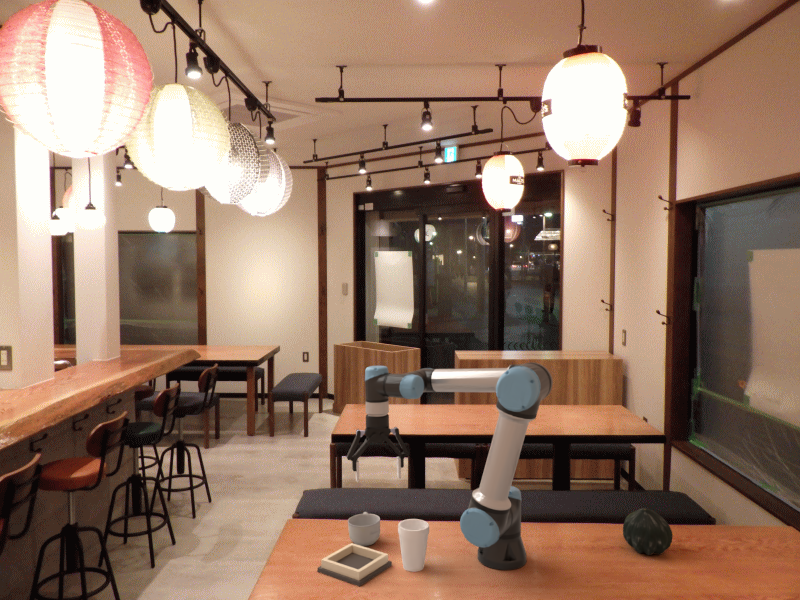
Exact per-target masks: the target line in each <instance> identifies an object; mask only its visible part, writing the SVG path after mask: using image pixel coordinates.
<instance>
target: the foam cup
mask: <svg viewBox="0 0 800 600" xmlns="http://www.w3.org/2000/svg"><path fill="white" fill-rule="evenodd" d="M429 533H430V524H429V523H428V521H426V520H423V519H418V518H407V519H404V520H400V521H399V522H398V524H397V534H398V538H399V546H400V553H401V562H402V567H403V569H404V570H405V571H407V572H416V573H417V572H420V571H422V570H424V568H425V562H426V555H427V545H428V538H429Z"/></svg>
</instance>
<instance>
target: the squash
mask: <svg viewBox="0 0 800 600" xmlns="http://www.w3.org/2000/svg"><path fill="white" fill-rule="evenodd" d="M622 535H623V538H624V541H625V542H626V543H627V544H628V545H629V547H631V548H633V549H634V550H635V552H636V553H638V554H643V553H644V554H645V555H647V556H651V555H653V554H655V555H662V554H663V553H665V552H666V551H667V550H668V549H669V547H671V544H672V541H673V536H674V535H673V530H672V528H671V526H670V525H669V523H668V522H667V521H666V519H664V517H663V516H662V515H660V514H659V513H657V512H656V511H654V510H652V509H649V508H646V507H643V508H639V509H637V510H634V511H632V512H630V513H629V514H627V516H626V517H625V518H624V522H623V526H622Z"/></svg>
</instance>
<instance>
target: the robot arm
mask: <svg viewBox="0 0 800 600" xmlns="http://www.w3.org/2000/svg"><path fill="white" fill-rule="evenodd" d="M553 383H554V381H553V376H552V374H551V372H550V370H549V369H548V368H547V367H546V366H544V365H543V364H540V363H537V362H526V363H525V362H524V363H520V364H519V363H518V364H517V363H516V364H509V366H508V367H485V368H484V367H482V368H481V367H480V368H478V367H476V368H431V367H424V368H420V369H417V370H413V371H408V372H405V373H391V372H389V368H388V366H386V365H369V366H368V367H366V368H365V372H364V389H365V391H364V392H365V414H366V415H365V429H364V430H363V429H359V428H357V429H356V431H355V436H354V439H353V441H352V443H351V446H350V448H349V449H348V452H347V454H346V456H345V458H346V459H347V461H351V465H352V466H351V468H352V469H351V470H352V471H353V472H355V481H356V483H359V482H360V461H359V458H360V457H361V456H362V454H363V453H364V452H365V451H366V449H367V448H368V447H369V446H370V445H371V443H372V444H383V443H385V442H386V443H387V444H388V445H389V446H390V448H391V449H392V450H393V451H394V452H395V454H397V455H398V456H396V477H397V478H398V479H399V480H402V474H401V472H402V469H403V468H404V465H405V462H404V461H405V457H409V456H410V451H409V450H408V449H407V446H406V444H405V443H404V440H403V439H402V437H401V434H400V429H399V428H398V426H395V427H392V428H390V415H389V413H390V408H389V407H390V406H389V398H395V399H396V398H397V399H398V398H399V399H406V400H411V399H412V400H417V399H421V397H422V395H423V393H496V397H497V400H496V404H495V408H496V410H497V411H498V416H497V417H498V418H497V421H496V425H495V428H494V432H493V435H492V438H491V444H490V446H489V447H490V448H489V451H488V454H487V458H486V462H485V465H484V469H483V473H482V476H481V480H480V484H479V487H477V488H476V489H474V490H473V491H472V493H471V497H470V500H469V503H468V508H467V509H465V510H464V511H463V513H462V514H461V516H460V521H459V527H460V531H461V533H462V535H463V536H464V538H465V539H466V541H467V542H469V543H470V544H472V545H473V546H475V547H478V549H477V560H478V562H479V563H480V564H482V565H483V566H485V567H488V568H491V569H495V570H502V571H509V570H510V571H511V570H515V569H520V568H522V567H523V566H525V565H526V563H527V551H526V548H525V545H524V542H523V538H522V536H521V535H522V534H521V533H522V501H523V500H522V492H521V490H520V489H519V488H518V487H515V486H514V485H512V483H513V482H514V481H513V480H514V477H515V473H516V469H517V466H518V463H519V459H520V455H521V452H522V448H523V445H524V441H525V439H526V438H525V437H526V433H527V431H528V427H529V423H531V422H532V421H535V420H536V418H537V415H538V411H539V408H540V404H541V402H542V401H543V400H545V399H546V398H547V397H548V396H549V395H550V394H551V391H552V388H553V386H554V385H553ZM391 433H392V435H394V436H395V438H396V440H397V442H398V444H399V445H400V447H401V449H402V451H403V452H402V451H401V450H400V449H399V448H398V447H397V446H396V445H395V444H394V443H393V441H391V439H390V438H389V436H390V434H391ZM364 435H365V436H366V438H365V439H364V442H363V443H361V445H360V447H359V448H358V449H357V446H358V444H359V442H360V440H361V438H362V437H363V436H364ZM356 449H357V450H356Z"/></svg>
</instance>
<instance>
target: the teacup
mask: <svg viewBox="0 0 800 600" xmlns="http://www.w3.org/2000/svg"><path fill="white" fill-rule="evenodd" d="M347 526H348V527H347V528H348V535H349V539H350V540H351V543H352V542H353V544H357V545H360V546H363V547H368V546H371V545H373V544H376V542H377V541H378V539H379V538H380V535H381V518H380V516H379V515H377V514H374V513H369V512H368V511H363V512H362V513H359V514H354V515H353V516H351V517H349V518H348V519H347Z"/></svg>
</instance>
